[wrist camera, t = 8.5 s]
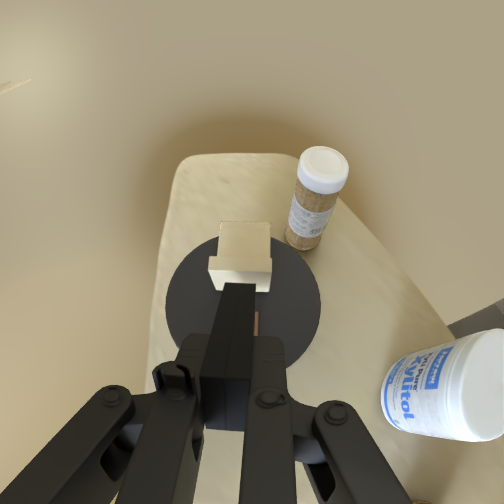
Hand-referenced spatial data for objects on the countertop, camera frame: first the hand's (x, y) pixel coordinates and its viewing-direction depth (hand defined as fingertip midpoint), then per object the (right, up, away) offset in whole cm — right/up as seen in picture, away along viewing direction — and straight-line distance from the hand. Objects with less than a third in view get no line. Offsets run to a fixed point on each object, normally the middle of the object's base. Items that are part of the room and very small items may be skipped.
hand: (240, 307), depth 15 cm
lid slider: (0, +2, +4) cm, 5 cm away
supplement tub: (+19, -14, +14) cm, 27 cm away
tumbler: (0, -7, +17) cm, 18 cm away
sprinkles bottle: (+7, +5, +23) cm, 24 cm away
